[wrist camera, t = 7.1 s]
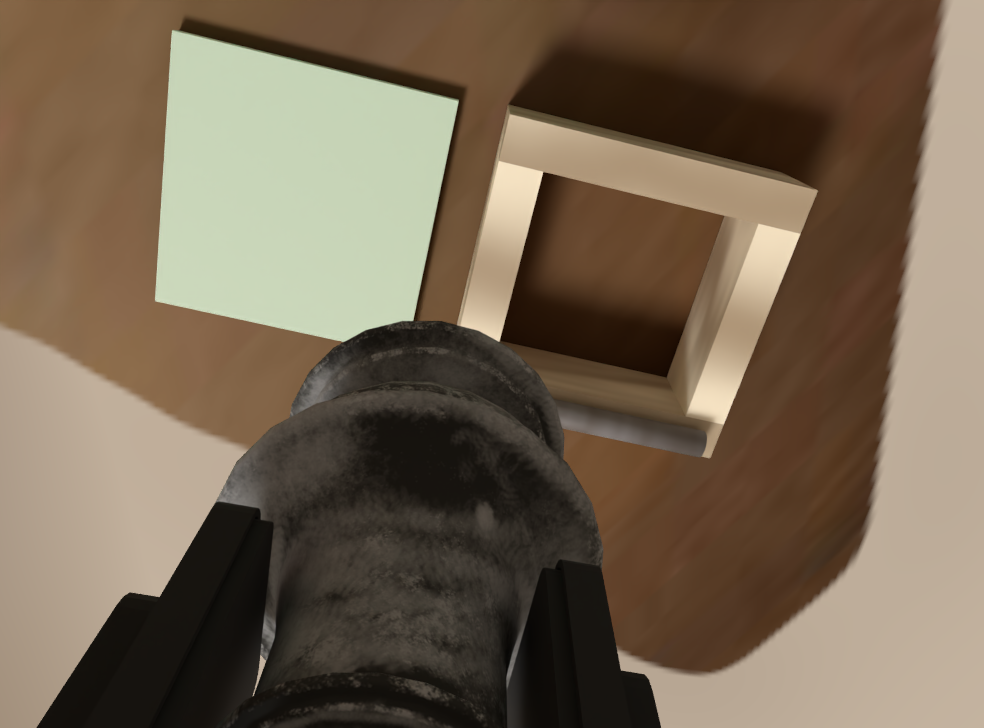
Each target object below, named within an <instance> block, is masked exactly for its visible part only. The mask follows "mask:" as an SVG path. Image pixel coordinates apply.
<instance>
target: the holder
mask: <svg viewBox="0 0 984 728" xmlns="http://www.w3.org/2000/svg"><path fill="white" fill-rule="evenodd" d="M543 172H546V173H551V174H555V175H559V176H563V177H567V178H571V179H575V180H580V181H584V182H588V183H592V184H596V185H600V186H604V187H608V188H613V189H617V190H621V191H625V192H629V193H633V194H637V195H642V196H646V197H650V198H654V199H658V200H662V201H666V202H671V203H675V204H679V205H683V206H687V207H691V208H695V209H700V210H704V211H708V212H712V213H716V214H720V215H724V219H723V222H722V225H721V228H720V230H719V233H718V236H717V239H716V242H715V244H714V247H713V250H712V253H711V255H710V258H709V261H708V264H707V267H706V269H705V272H704V275H703V278H702V280H701V283H700V286H699V289H698V292H697V294H696V297H695V300H694V303H693V305H692V308H691V311H690V314H689V317H688V319H687V322H686V325H685V328H684V331H683V333H682V336H681V339H680V342H679V344H678V347H677V350H676V353H675V356H674V358H673V361H672V364H671V367H670V369H669V372H668V375H667V378H666V377H662V376H657V375H653V374H648V373H644V372H639V371H635V370H630V369H626V368H621V367H616V366H612V365H607V364H603V363H598V362H594V361H589V360H585V359H580V358H576V357H571V356H567V355H562V354H557V353H553V352H548V351H544V350H539V349H535V348H530V347H526V346H521V345H517V344H512V343H508V342H503V341H500V338H501V334H502V330H503V326H504V322H505V318H506V314H507V311H508V307H509V303H510V299H511V295H512V291H513V287H514V283H515V280H516V276H517V272H518V268H519V264H520V260H521V256H522V252H523V249H524V245H525V241H526V237H527V233H528V229H529V225H530V221H531V218H532V214H533V210H534V206H535V202H536V198H537V194H538V190H539V187H540V183H541V179H542V175H543ZM817 192H818V190H816V189H814V188H812V187H810V186H808V185H806V184H804V183H802V182H800V181H798V180H796V179H794V178H792V177H790V176H788V175H786V174H784V173H782V172H778V171H774V170H770V169H766V168H762V167H758V166H754V165H750V164H746V163H742V162H738V161H734V160H730V159H726V158H722V157H718V156H714V155H710V154H706V153H702V152H698V151H694V150H690V149H686V148H682V147H678V146H674V145H670V144H666V143H662V142H658V141H654V140H650V139H645V138H641V137H637V136H633V135H629V134H625V133H621V132H617V131H613V130H609V129H605V128H601V127H597V126H593V125H589V124H585V123H581V122H577V121H573V120H569V119H565V118H561V117H557V116H553V115H549V114H545V113H541V112H537V111H533V110H529V109H525V108H521V107H517V106H513V105H509V104H508V107H507V111H506V116H505V120H504V124H503V129H502V133H501V137H500V142H499V146H498V150H497V154H496V159H495V163H494V167H493V172H492V176H491V180H490V185H489V189H488V193H487V198H486V202H485V206H484V210H483V215H482V219H481V223H480V228H479V232H478V236H477V241H476V245H475V249H474V254H473V258H472V262H471V267H470V271H469V275H468V279H467V284H466V288H465V292H464V297H463V301H462V305H461V310H460V314H459V318H458V323H457V325H458V326H462V327H466V328H470V329H474V330H478V331H480V332H482V333H484V334H486V335H487V336H489V337H491V338H493V339H495V340H497V341H499V342H500V343H502V344H504V345H506V346H508V347H510V348H511V349H513V350H514V351H515V352H516V353H517V354H518V355H519V356H520V357H521V358H522V359H523V360H524V361H525V362H526V363H528V364H529V365H530V366H531V367H532V368H533V369H534V370H535V371H536V372H537V373H538V374H539V376H540V378H541V379H542V381H543V382H544V384H545V386H546V387H547V389H548V391H549V392H550V394H551V396H552V397H553V399H554V401H555V402H556V406H557V410H558V414H559V418H560V421H561V425H562V428H563V429H568V430H572V431H577V432H582V433H587V434H591V435H596V436H601V437H606V438H610V439H615V440H620V441H624V442H629V443H634V444H639V445H643V446H648V447H653V448H658V449H662V450H667V451H672V452H676V453H681V454H686V455H691V456H695V457H701V456H702V457H707V458H710V457H711V455H712V452H713V450H714V447H715V445H716V442H717V440H718V437H719V435H720V432H721V430H722V427H723V425H724V422H725V420H726V417H727V415H728V412H729V410H730V407H731V405H732V402H733V400H734V398H735V395H736V393H737V390H738V388H739V385H740V383H741V380H742V378H743V375H744V373H745V370H746V368H747V365H748V363H749V360H750V358H751V355H752V353H753V350H754V348H755V345H756V343H757V340H758V338H759V336H760V333H761V331H762V328H763V326H764V323H765V321H766V318H767V316H768V313H769V311H770V308H771V306H772V303H773V301H774V298H775V296H776V293H777V291H778V288H779V286H780V283H781V281H782V278H783V276H784V273H785V271H786V269H787V266H788V264H789V261H790V259H791V256H792V254H793V251H794V249H795V246H796V244H797V241H798V239H799V236H800V234H801V231H802V229H803V226H804V224H805V221H806V219H807V216H808V214H809V211H810V209H811V207H812V204H813V202H814V199H815V197H816V194H817Z"/></svg>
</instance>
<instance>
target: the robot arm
mask: <svg viewBox="0 0 984 728" xmlns="http://www.w3.org/2000/svg"><path fill="white" fill-rule="evenodd" d="M273 529H274V525H273V522H272V521H266V520H261V512H260V509H259V508H255V507H249V506H244V505H238V504H232V503H226V502H220V501H218V502H216V503H215V504H214V506H213V507H212V509H211V511H210V512H209V514H208V516H207V518H206V519H205V521H204V522H203V524H202V526H201V528H200V530H199V531H198V533H197V534H196V536H195V538H194V540H193V541H192V543H191V545H190V546H189V548H188V550H187V551H186V553H185V555H184V557H183V558H182V560H181V562H180V563H179V565H178V567H177V568H176V570H175V572H174V574H173V575H172V577H171V579H170V581H169V582H168V584H167V585H166V587H165V589H164V591H163V592H162V594H161V596H160V597H155V596H148V595H142V594H136V593H128V594H127V595H125V596H124V597H123V598H122V599H121V600H120V602H119V603H118V604H117V605H116V607H115V608H114V610H113V611H112V613H111V615H110V616H109V618H108V619H107V621H106V622H105V624H104V625H103V627H102V628H101V630H100V631H99V633H98V634H97V636H96V638H95V639H94V641H93V642H92V644H91V645H90V647H89V648H88V650H87V651H86V653H85V654H84V656H83V657H82V659H81V661H80V662H79V664H78V665H77V667H76V668H75V670H74V671H73V673H72V674H71V676H70V677H69V679H68V680H67V682H66V684H65V685H64V686H63V688H62V690H61V691H60V693H59V694H58V696H57V697H56V699H55V700H54V702H53V704H52V705H51V706H50V708H49V710H48V711H47V712H46V714H45V716H44V717H43V719H42V720H41V722H40V723H39V725H38V726H37V728H215V727H216V726H217V724H218V723H219V722H220V721H222V720H223V719H224V718H225V717H226V716H228V715H229V714H230V713H231V712H232V711H233V710H235V709H236V708H237V707H238V706H239V705H240V704H242V703H243V702H244V701H245V700H246V699H248V698H251V697H252V696H253V692H254V689H255V685H256V681H257V675H258V670H259V661H260V652H261V643H262V633H263V624H264V614H265V605H266V596H267V586H268V577H269V567H270V558H271V549H272V539H273ZM507 728H661V725H660V721H659V717H658V713H657V708H656V704H655V700H654V696H653V691H652V688H651V685H650V682H649V679H648V678H647V677H646V676H645V675H644V674H638V673H632V672H626V671H621V669H620V664H619V659H618V653H617V648H616V643H615V638H614V632H613V627H612V622H611V617H610V611H609V606H608V601H607V596H606V591H605V585H604V580H603V575H602V571H601V568H600V567H599V566H598V565H592V564H586V563H580V562H574V561H568V560H562V559H560V560H558V562H557V564H556V567H555V569H551V568H545V567H544V568H542V570H541V573H540V575H539V579H538V582H537V586H536V589H535V593H534V596H533V600H532V604H531V607H530V611H529V614H528V618H527V621H526V625H525V628H524V632H523V635H522V639H521V642H520V646H519V649H518V653H517V656H516V660H515V663H514V667H513V670H512V674H511V677H510V681H509V684H508V688H507Z"/></svg>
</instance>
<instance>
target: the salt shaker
mask: <svg viewBox="0 0 984 728" xmlns="http://www.w3.org/2000/svg"><path fill="white" fill-rule="evenodd" d="M563 454H564V433H563V429H562V425H561V421H560V418H559V414H558V410H557V406H556V402H555V401H554V399H553V397H552V396H551V394H550V392H549V391H548V389H547V387H546V386H545V384H544V382H543V381H542V379H541V378H540V376H539V374H538V373H537V372H536V371H535V370H534V369H533V368H532V367H531V366H530V365H529V364H528V363H526V362H525V361H524V360H523V359H522V358H521V357H520V356H519V355H518V354H517V353H516V352H515V351H514V350H513V349H511V348H510V347H508V346H506V345H504V344H502V343H500V342H499V341H497V340H495V339H493V338H491V337H489V336H487V335H486V334H484V333H482V332H480V331H478V330H474V329H470V328H466V327H462V326H458V325H454V324H450V323H446V322H442V321H400V322H396V323H392V324H388V325H384V326H380V327H376V328H372V329H368V330H365V331H363V332H361V333H359V334H358V335H356V336H354V337H352V338H350V339H349V340H347V341H345V342H343V343H341V344H340V345H338V346H336V347H334V348H333V349H332V350H331V351H330V352H329V353H328V354H327V355H326V356H325V357H324V358H323V359H322V360H321V361H320V362H319V363H318V364H317V365H316V366H315V367H314V368H313V369H312V370H311V371H310V372H309V374H308V375H307V377H306V379H305V381H304V383H303V385H302V387H301V388H300V390H299V392H298V394H297V396H296V398H295V400H294V402H293V403H292V407H291V413H290V418H288V419H286V420H285V421H283V422H281V423H279V424H277V425H275V426H273V427H272V428H270V429H269V430H268V431H267V432H266V433H265V434H264V435H263V436H262V437H261V438H260V439H259V440H258V441H257V442H256V443H255V444H254V445H253V446H252V447H251V448H250V449H249V450H248V451H247V452H246V453H245V454H244V455H243V456H242V457H241V458H240V459H239V460H238V461H237V462H236V464H235V466H234V468H233V470H232V472H231V474H230V476H229V477H228V480H227V481H226V484H225V485H224V487H223V489H222V491H221V493H220V495H219V497H218V499H217V501H216V502H218V501H220V502H226V503H232V504H238V505H244V506H249V507H255V508H259V509H260V512H261V520H266V521H272V522H273V525H274V529H273V539H272V549H271V558H270V567H269V577H268V586H267V596H266V605H265V614H264V624H263V633H262V643H261V652H260V655H261V656H262V657H263V658H264V659H265V660H266V663H265V667H264V669H263V672H262V674H261V677H260V680H259V683H258V686H257V688H256V691H255V694H254V696H253V697H251V698H248V699H246V700H245V701H244V702H243V703H242V704H240V705H239V706H238V707H237V708H236V709H235V710H233V711H232V712H231V713H230V714H229V715H228V716H226V717H225V718H224V719H223V720H222V721H220V722H219V723H218V724H217V726H216V727H215V728H507V688H508V684H509V681H510V677H511V674H512V670H513V667H514V663H515V660H516V656H517V653H518V649H519V646H520V642H521V639H522V635H523V632H524V628H525V625H526V621H527V618H528V614H529V611H530V607H531V604H532V600H533V596H534V593H535V589H536V586H537V582H538V579H539V575H540V573H541V570H542V568H544V567H545V568H551V569H555V567H556V564H557V562H558V560H560V559H562V560H568V561H574V562H580V563H586V564H592V565H598V566H599V567H600V568H601V571H602V559H603V546H602V541H601V538H600V534H599V530H598V526H597V522H596V518H595V514H594V510H593V506H592V502H591V501H590V499H589V498H588V496H587V494H586V493H585V491H584V489H583V488H582V486H581V485H580V483H579V481H578V480H577V478H576V477H575V475H574V473H573V472H572V470H571V468H570V467H569V465H568V464H567V462H565V461H564V460H563Z"/></svg>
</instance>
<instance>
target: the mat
mask: <svg viewBox="0 0 984 728" xmlns="http://www.w3.org/2000/svg"><path fill="white" fill-rule="evenodd" d="M458 103H459V100H458V99H454V98H450V97H446V96H442V95H438V94H434V93H430V92H426V91H422V90H418V89H414V88H410V87H406V86H402V85H398V84H394V83H390V82H386V81H382V80H378V79H374V78H370V77H366V76H361V75H357V74H353V73H349V72H345V71H341V70H337V69H333V68H329V67H325V66H321V65H317V64H313V63H309V62H305V61H301V60H297V59H293V58H289V57H285V56H281V55H277V54H273V53H269V52H265V51H261V50H257V49H253V48H248V47H244V46H240V45H236V44H232V43H228V42H224V41H220V40H216V39H212V38H208V37H204V36H200V35H196V34H192V33H188V32H184V31H180V30H172V40H171V56H170V72H169V88H168V104H167V120H166V136H165V152H164V167H163V183H162V199H161V215H160V231H159V247H158V263H157V279H156V295H155V301H157V302H162V303H167V304H171V305H176V306H181V307H185V308H190V309H194V310H199V311H204V312H208V313H213V314H218V315H222V316H227V317H232V318H236V319H241V320H245V321H250V322H255V323H259V324H264V325H269V326H273V327H278V328H282V329H287V330H292V331H296V332H301V333H306V334H310V335H315V336H319V337H324V338H329V339H333V340H338V341H343V342H345V341H347V340H349V339H350V338H352V337H354V336H356V335H358V334H359V333H361V332H363V331H365V330H368V329H372V328H376V327H380V326H384V325H388V324H392V323H396V322H400V321H413V320H414V316H415V311H416V306H417V301H418V296H419V291H420V287H421V282H422V277H423V272H424V267H425V263H426V258H427V253H428V248H429V243H430V238H431V234H432V229H433V224H434V219H435V214H436V209H437V205H438V200H439V195H440V190H441V185H442V180H443V176H444V171H445V166H446V161H447V156H448V152H449V147H450V142H451V137H452V132H453V127H454V123H455V118H456V113H457V108H458Z"/></svg>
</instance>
